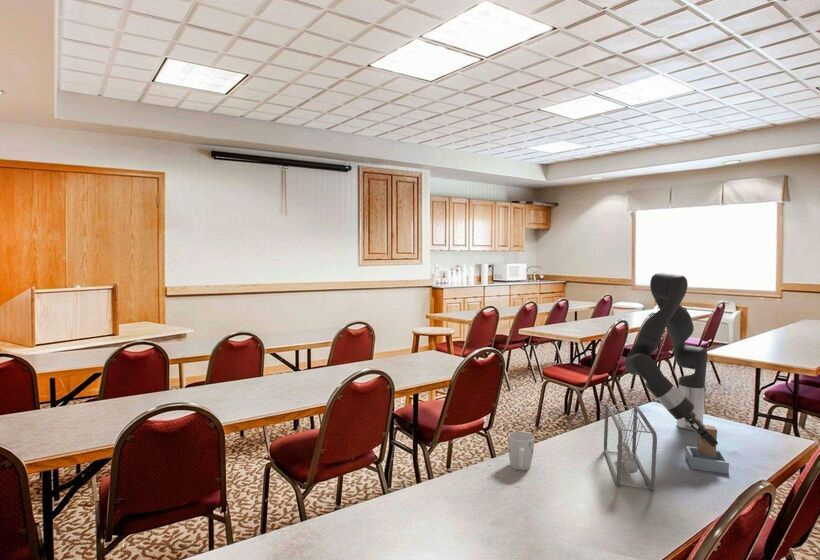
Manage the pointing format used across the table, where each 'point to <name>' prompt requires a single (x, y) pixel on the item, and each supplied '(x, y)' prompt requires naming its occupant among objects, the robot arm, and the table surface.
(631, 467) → the newton's cradle
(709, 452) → the block
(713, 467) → the tray
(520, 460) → the mug
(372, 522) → the table surface
